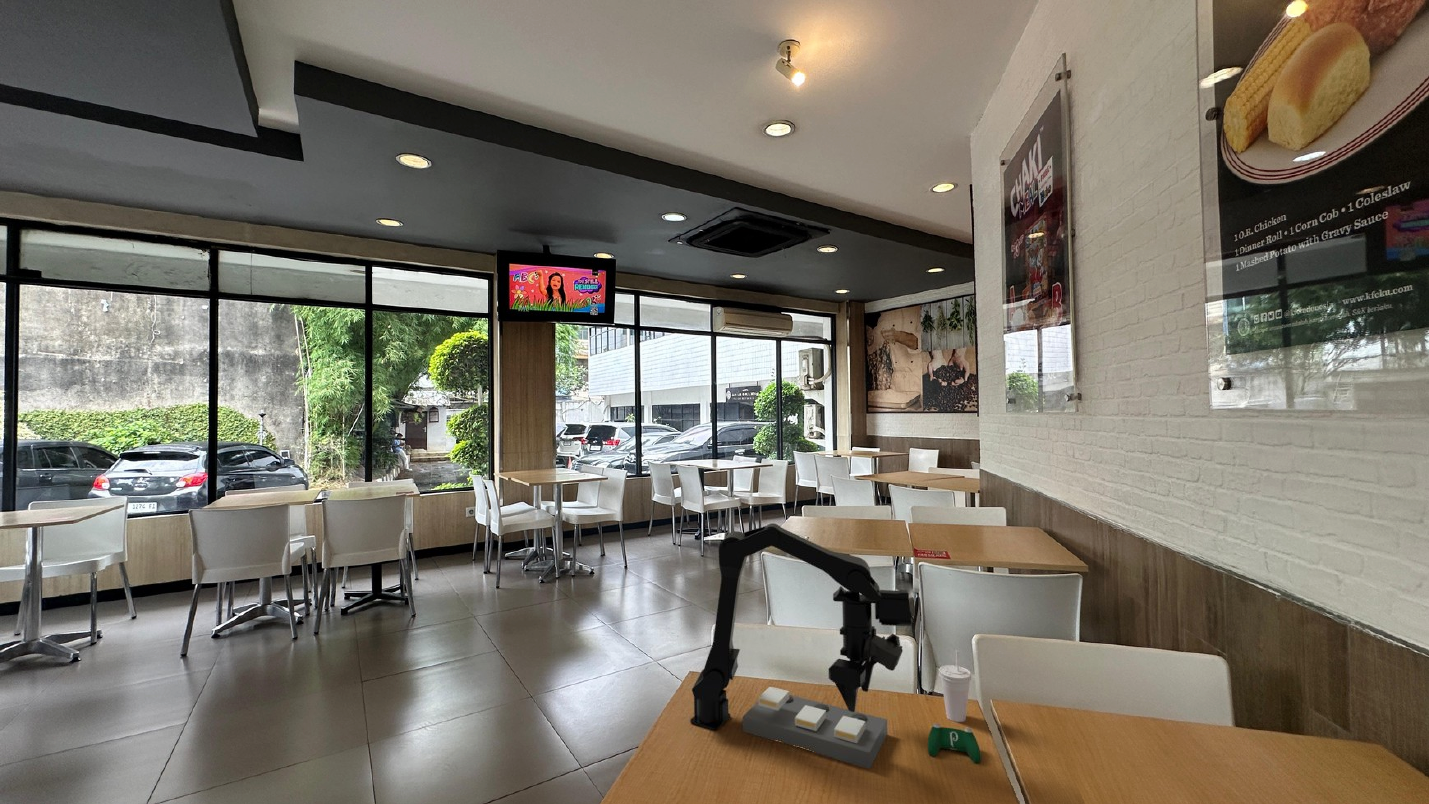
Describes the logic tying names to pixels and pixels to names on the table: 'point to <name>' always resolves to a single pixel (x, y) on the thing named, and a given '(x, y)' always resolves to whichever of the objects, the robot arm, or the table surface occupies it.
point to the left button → (773, 698)
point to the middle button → (810, 718)
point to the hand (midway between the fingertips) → (858, 700)
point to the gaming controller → (953, 741)
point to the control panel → (823, 739)
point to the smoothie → (955, 690)
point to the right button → (849, 729)
